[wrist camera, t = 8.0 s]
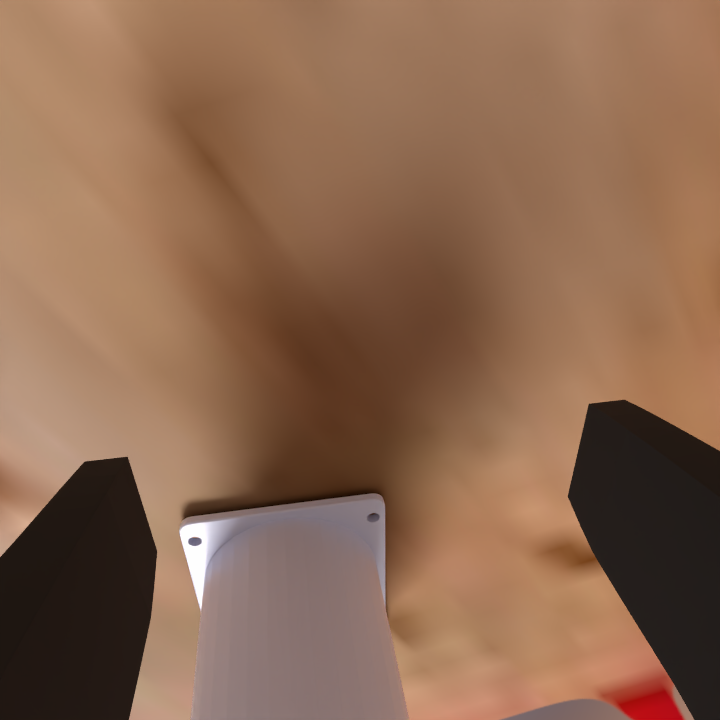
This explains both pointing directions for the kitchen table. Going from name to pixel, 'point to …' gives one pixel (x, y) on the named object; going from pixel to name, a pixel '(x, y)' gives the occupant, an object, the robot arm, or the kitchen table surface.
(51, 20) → the kitchen table surface
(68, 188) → the kitchen table surface
